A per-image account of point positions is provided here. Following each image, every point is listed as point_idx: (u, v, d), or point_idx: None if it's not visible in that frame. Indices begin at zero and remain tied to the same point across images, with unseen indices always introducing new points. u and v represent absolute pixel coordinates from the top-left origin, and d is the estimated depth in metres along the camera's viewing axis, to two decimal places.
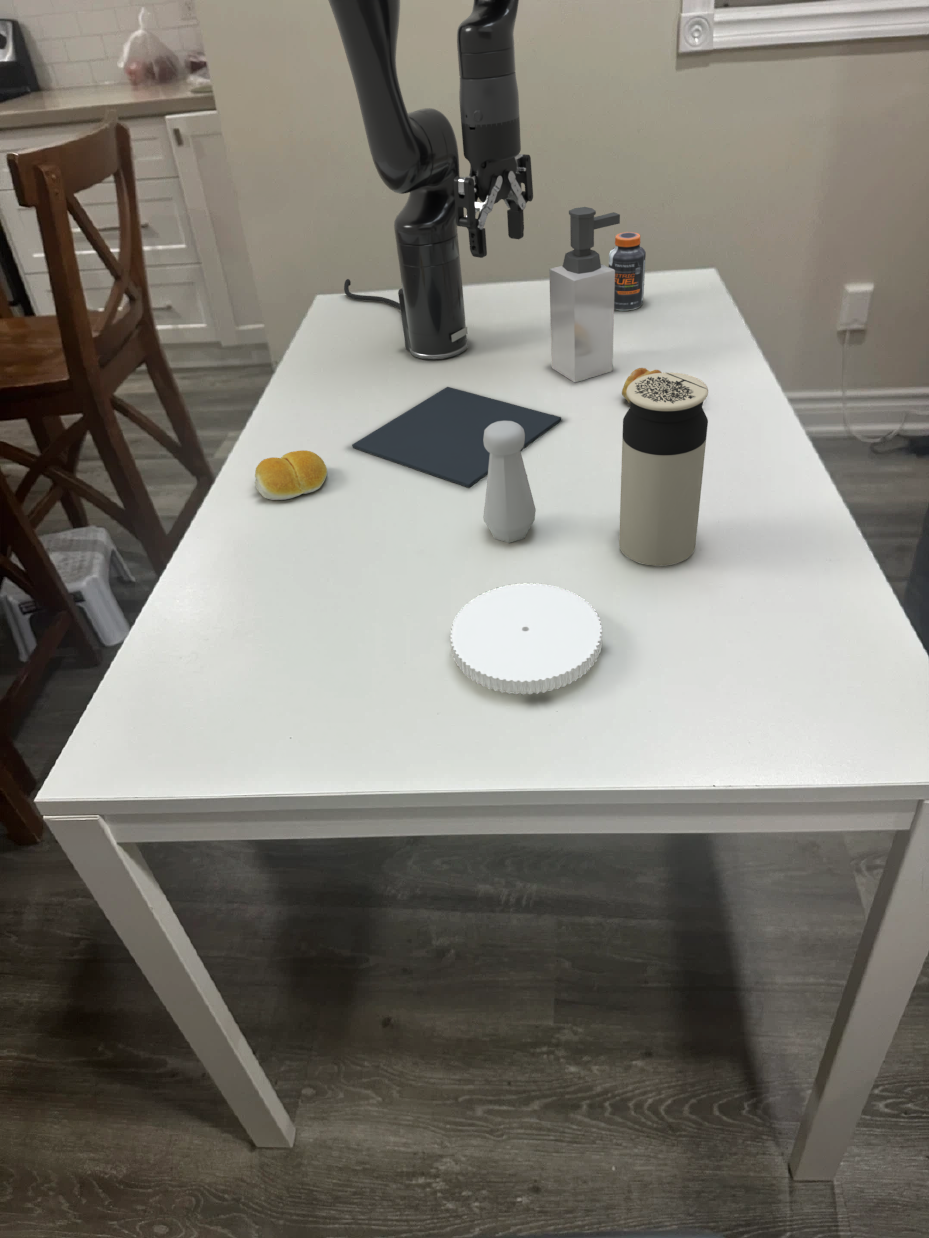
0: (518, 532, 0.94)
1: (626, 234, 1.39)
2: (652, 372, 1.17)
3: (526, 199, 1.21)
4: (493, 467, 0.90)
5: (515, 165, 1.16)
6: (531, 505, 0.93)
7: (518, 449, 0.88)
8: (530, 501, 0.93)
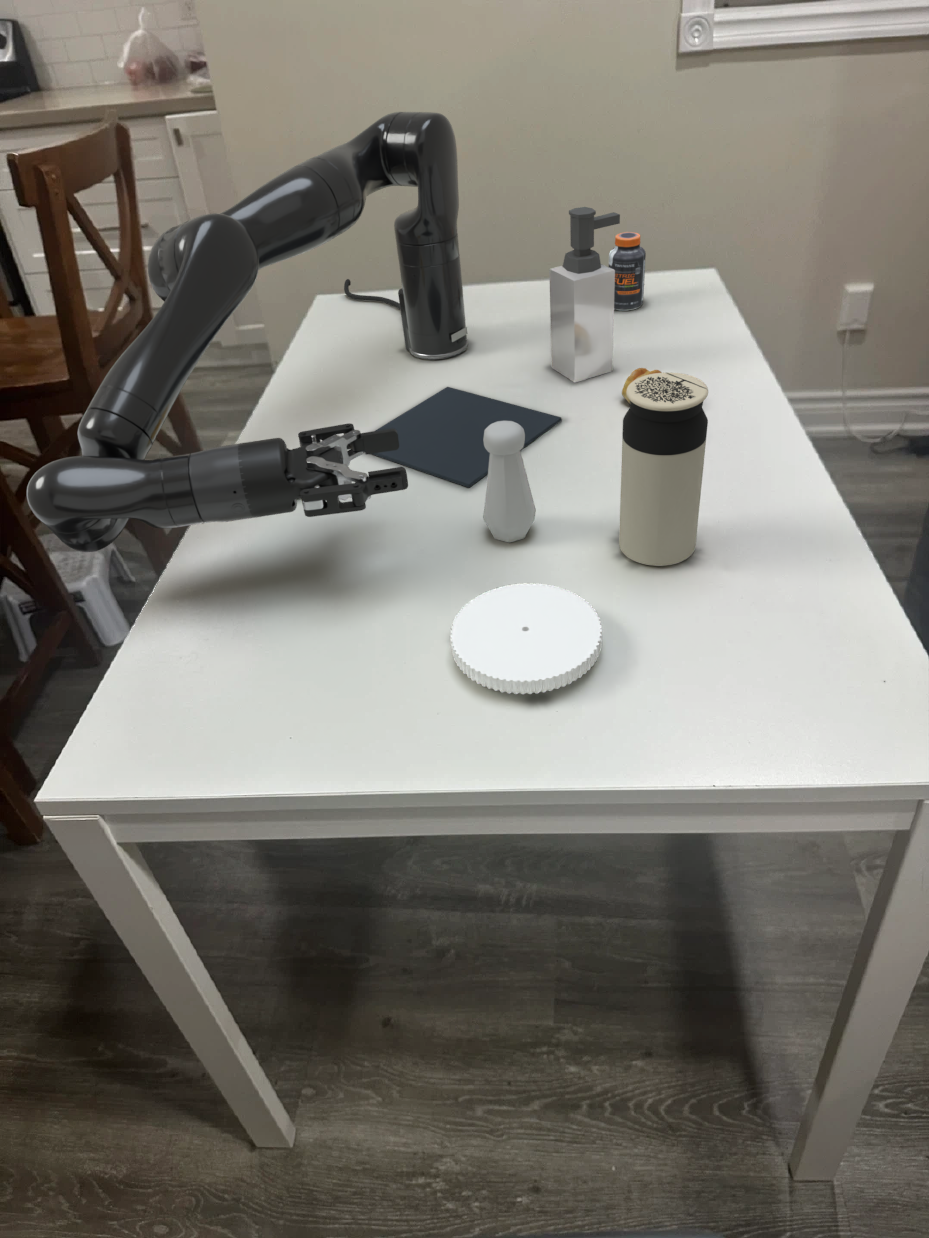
0: (518, 532, 0.94)
1: (626, 234, 1.39)
2: (652, 372, 1.17)
3: None
4: (493, 467, 0.90)
5: None
6: (531, 505, 0.93)
7: (518, 449, 0.88)
8: (530, 501, 0.93)
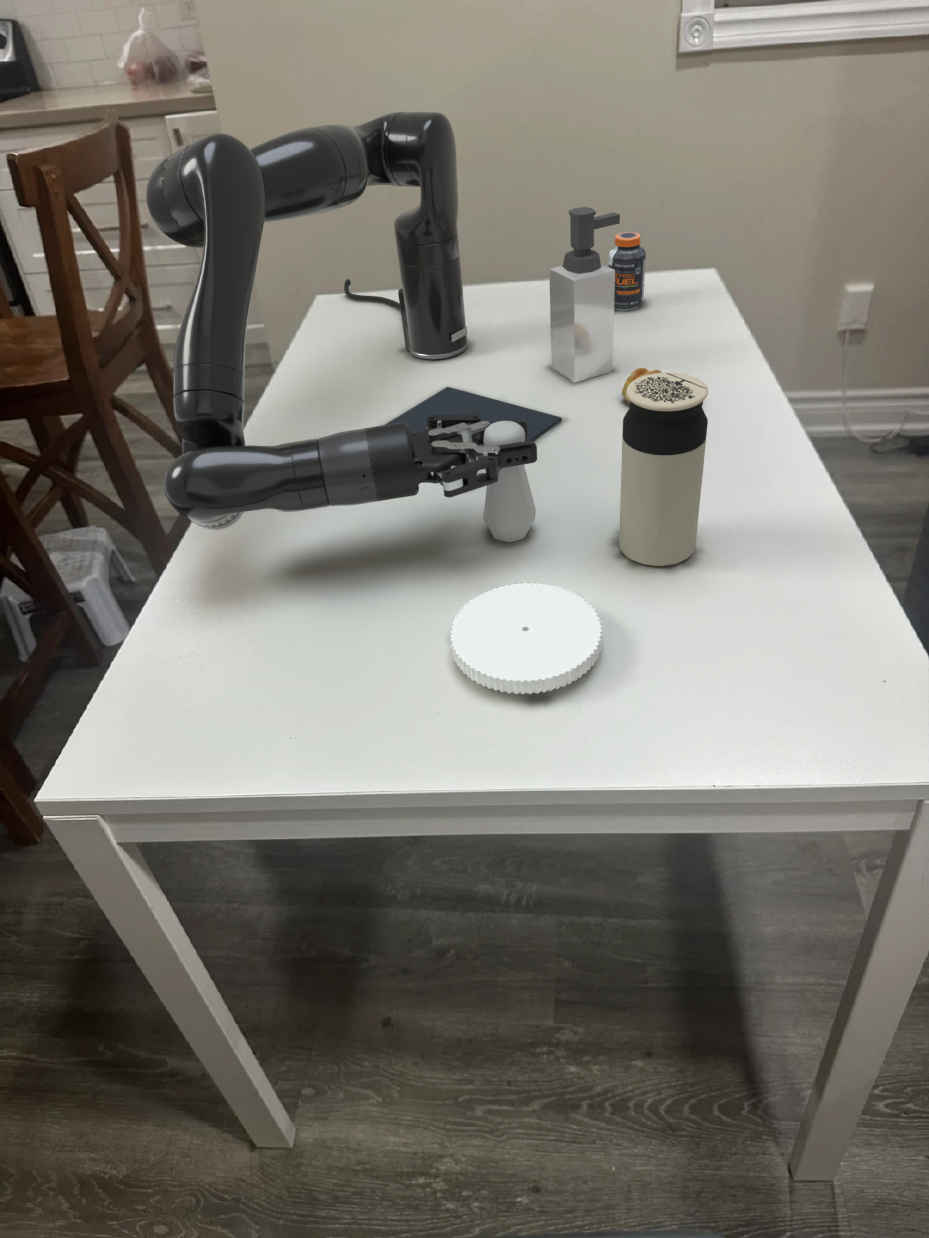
0: (518, 532, 0.94)
1: (626, 234, 1.39)
2: (652, 372, 1.17)
3: None
4: None
5: None
6: (531, 505, 0.93)
7: None
8: (530, 501, 0.93)
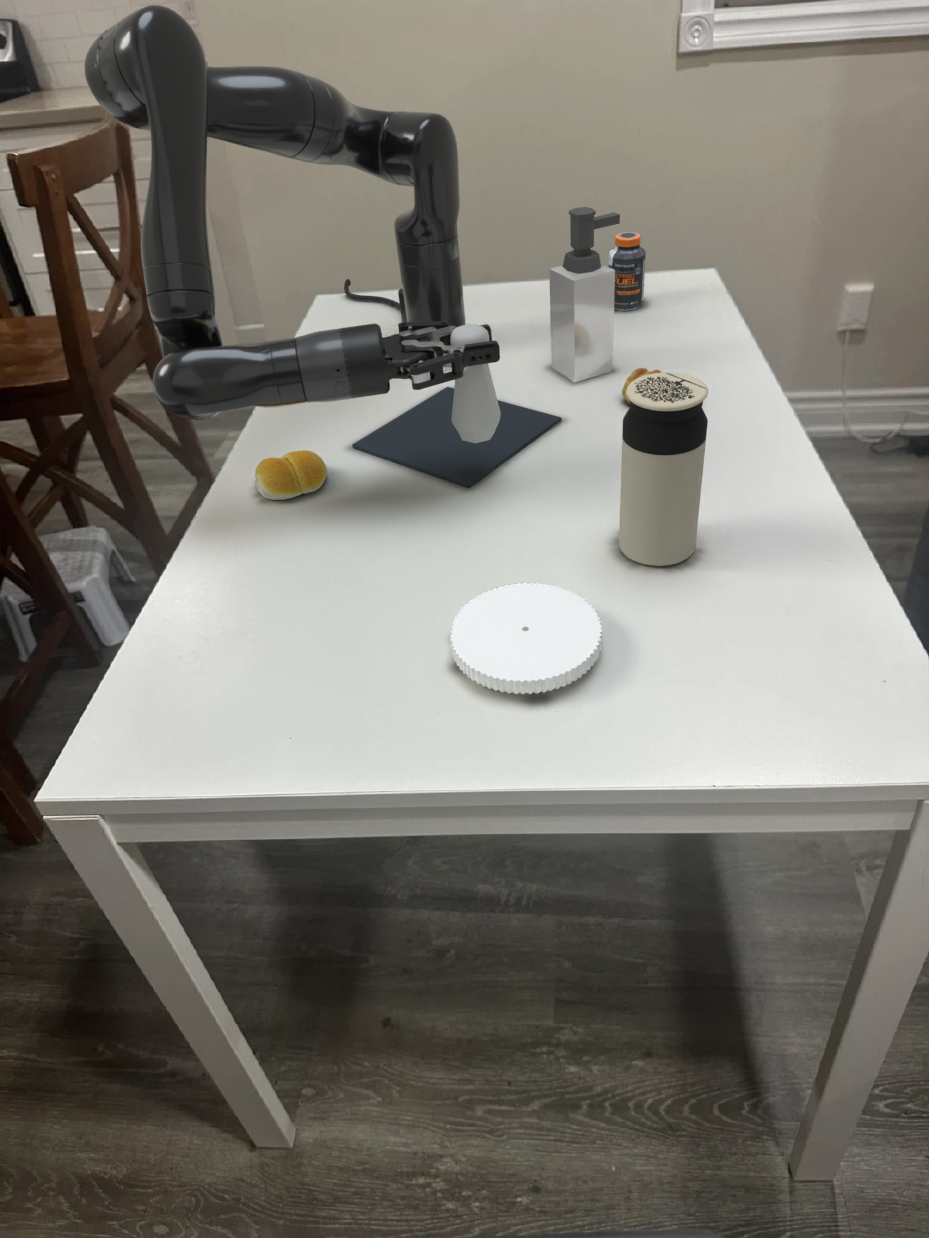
0: (483, 432, 1.00)
1: (626, 234, 1.39)
2: (652, 372, 1.17)
3: None
4: None
5: None
6: (496, 407, 1.00)
7: None
8: (495, 403, 1.00)
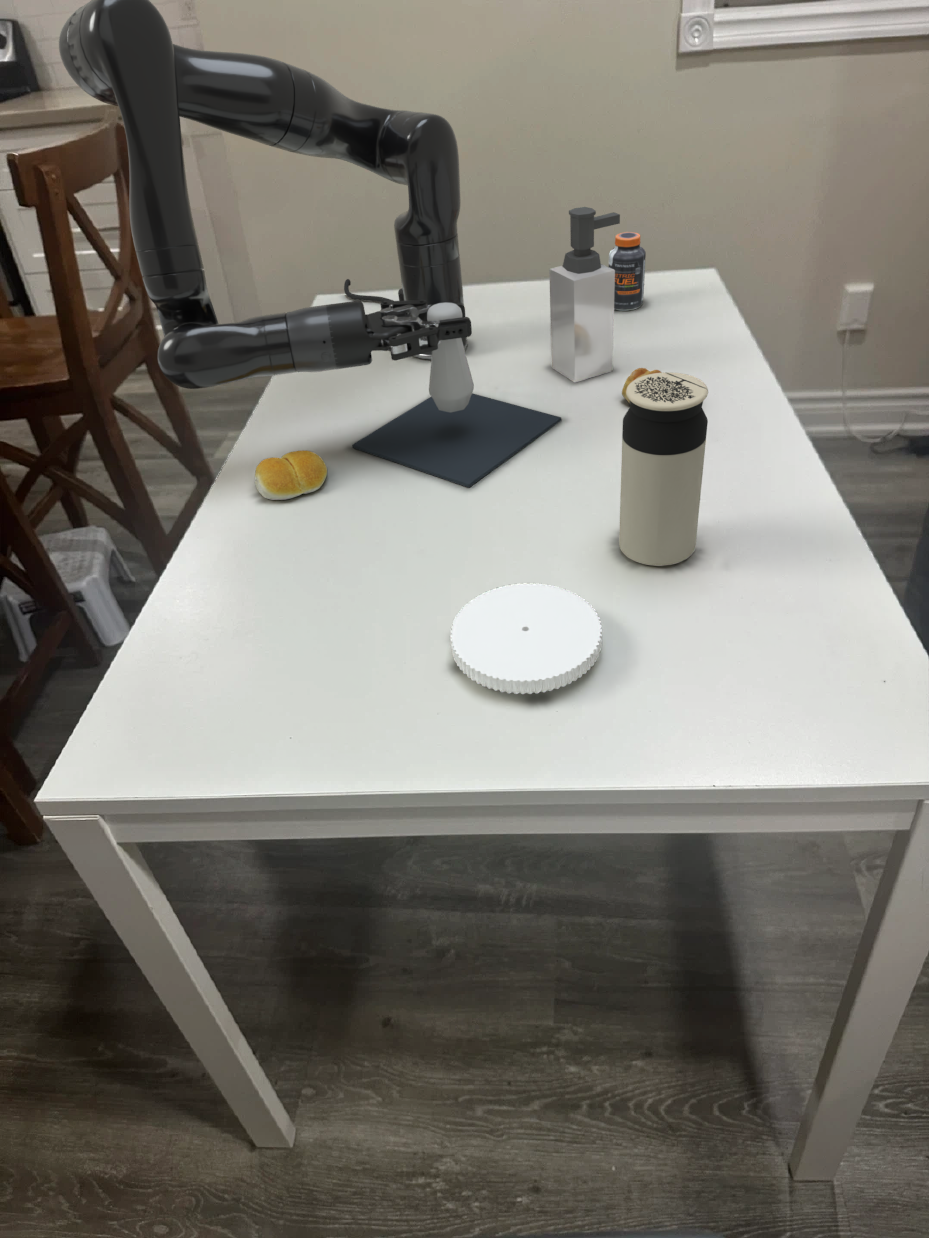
0: (457, 401, 1.10)
1: (626, 234, 1.39)
2: (652, 372, 1.17)
3: None
4: None
5: None
6: (469, 379, 1.10)
7: None
8: (468, 375, 1.09)
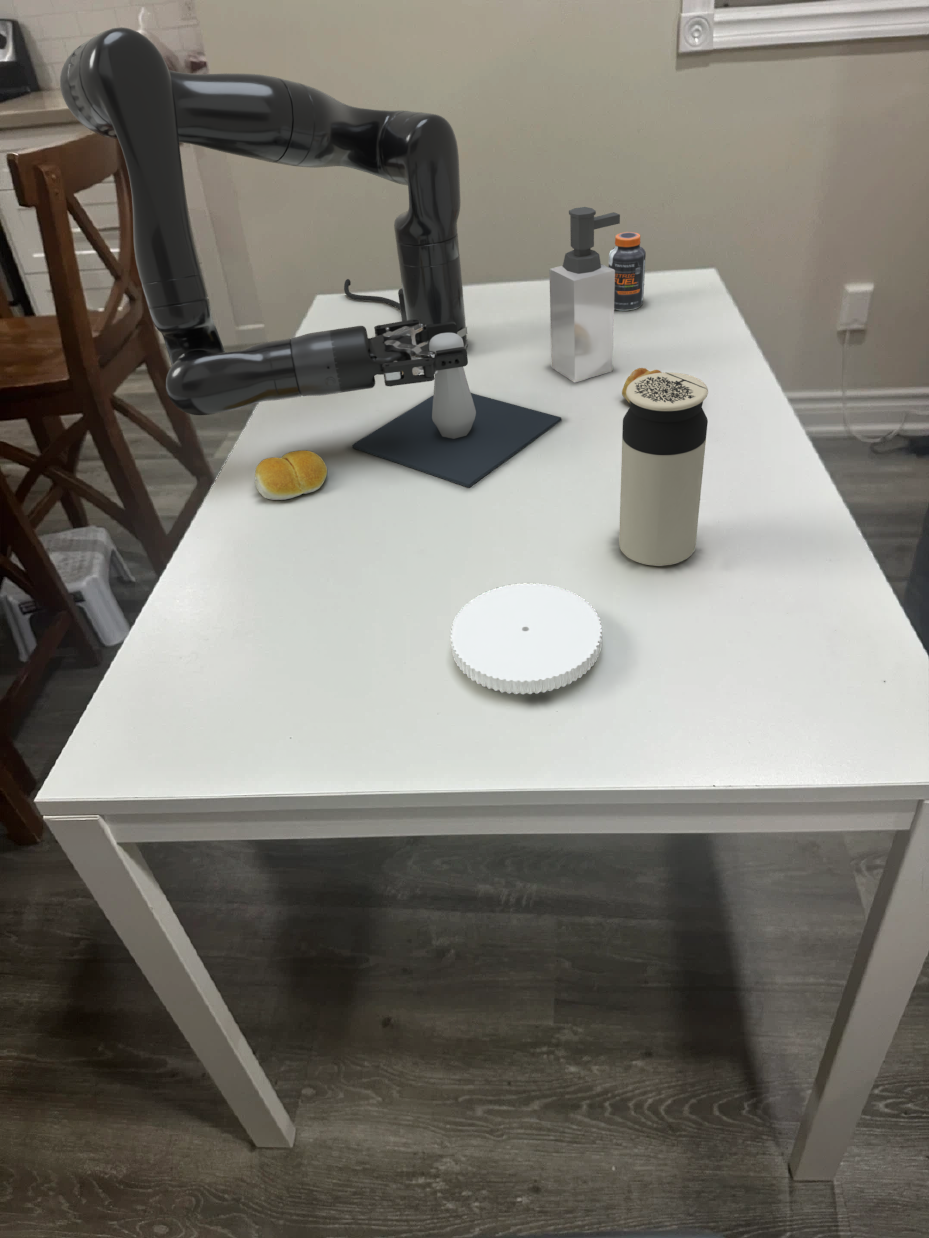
0: (460, 428, 1.12)
1: (626, 234, 1.39)
2: (652, 372, 1.17)
3: None
4: (438, 372, 1.09)
5: None
6: (471, 406, 1.12)
7: None
8: (470, 402, 1.12)
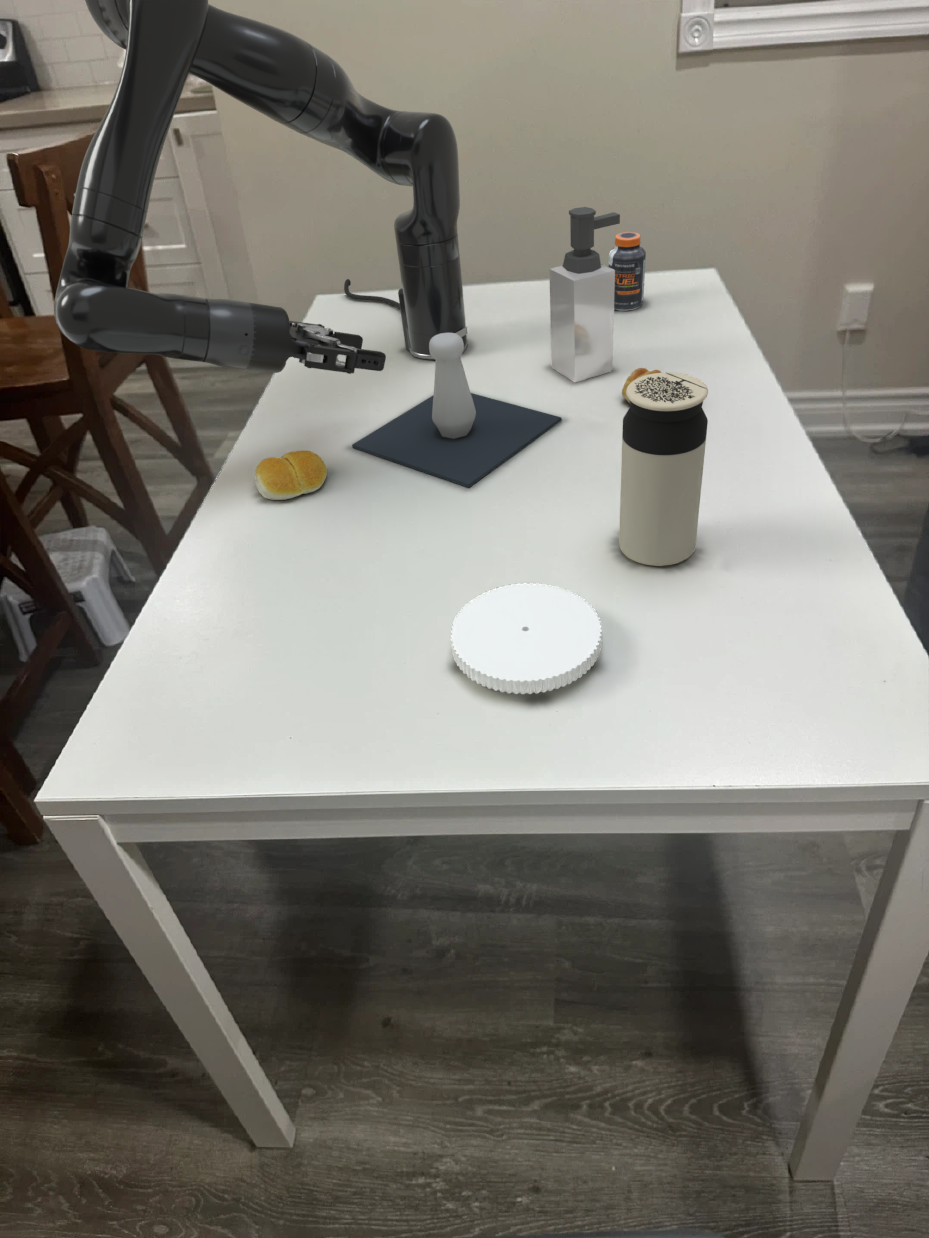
0: (460, 428, 1.12)
1: (626, 234, 1.39)
2: (652, 372, 1.17)
3: None
4: (438, 372, 1.09)
5: (303, 359, 1.02)
6: (471, 406, 1.12)
7: (457, 355, 1.07)
8: (470, 402, 1.12)
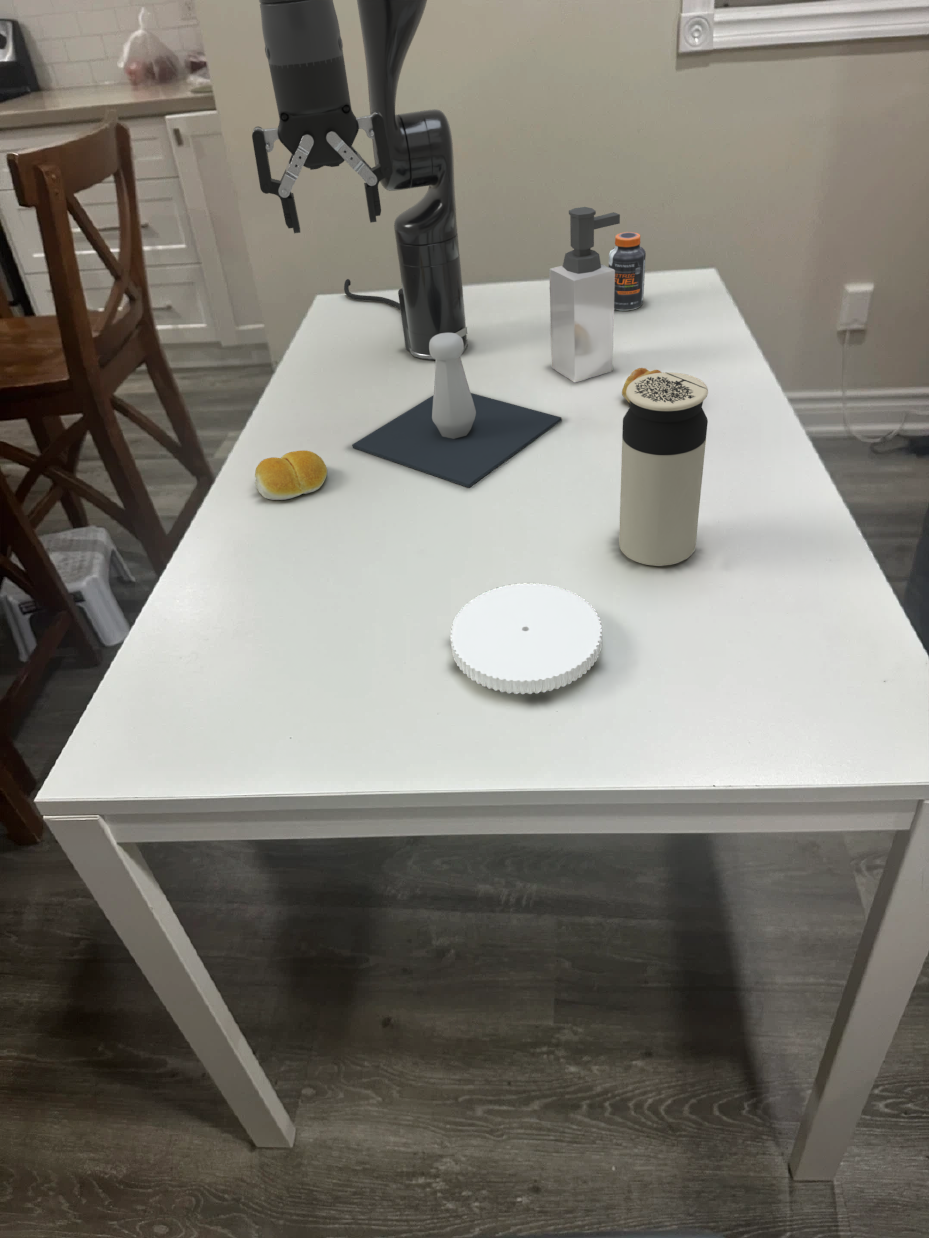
0: (460, 428, 1.12)
1: (626, 234, 1.39)
2: (652, 372, 1.17)
3: (382, 173, 0.93)
4: (438, 372, 1.09)
5: (351, 125, 0.90)
6: (471, 406, 1.12)
7: (457, 355, 1.07)
8: (470, 402, 1.12)
